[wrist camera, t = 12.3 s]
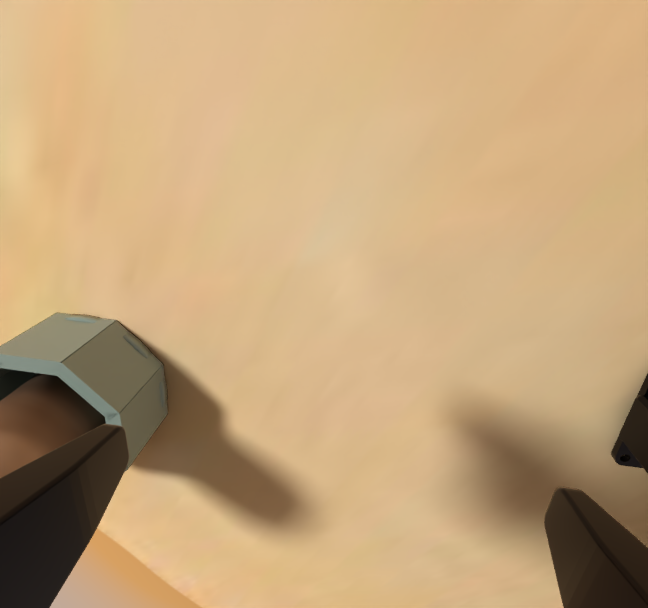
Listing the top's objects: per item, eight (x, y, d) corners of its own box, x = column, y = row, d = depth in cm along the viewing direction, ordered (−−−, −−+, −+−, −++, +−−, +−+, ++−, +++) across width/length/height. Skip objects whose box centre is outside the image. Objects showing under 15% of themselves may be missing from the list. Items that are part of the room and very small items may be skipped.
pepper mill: (99, 336, 23) (-190, 558, 11) (151, 408, 25) (-55, 668, 13) (32, 365, 25) (-285, 590, 13) (86, 432, 26) (-153, 685, 15)
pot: (161, 324, 23) (114, 367, 19) (172, 446, 27) (135, 505, 23) (12, 305, 24) (-63, 343, 20) (43, 427, 27) (-16, 481, 23)
